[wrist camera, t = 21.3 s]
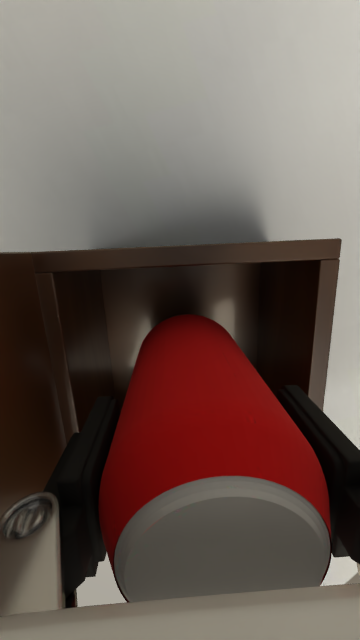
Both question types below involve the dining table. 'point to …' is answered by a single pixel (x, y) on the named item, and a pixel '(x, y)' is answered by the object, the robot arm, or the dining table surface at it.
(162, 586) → the beverage can
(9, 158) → the dining table surface
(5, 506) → the lid
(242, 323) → the chest
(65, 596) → the robot arm
